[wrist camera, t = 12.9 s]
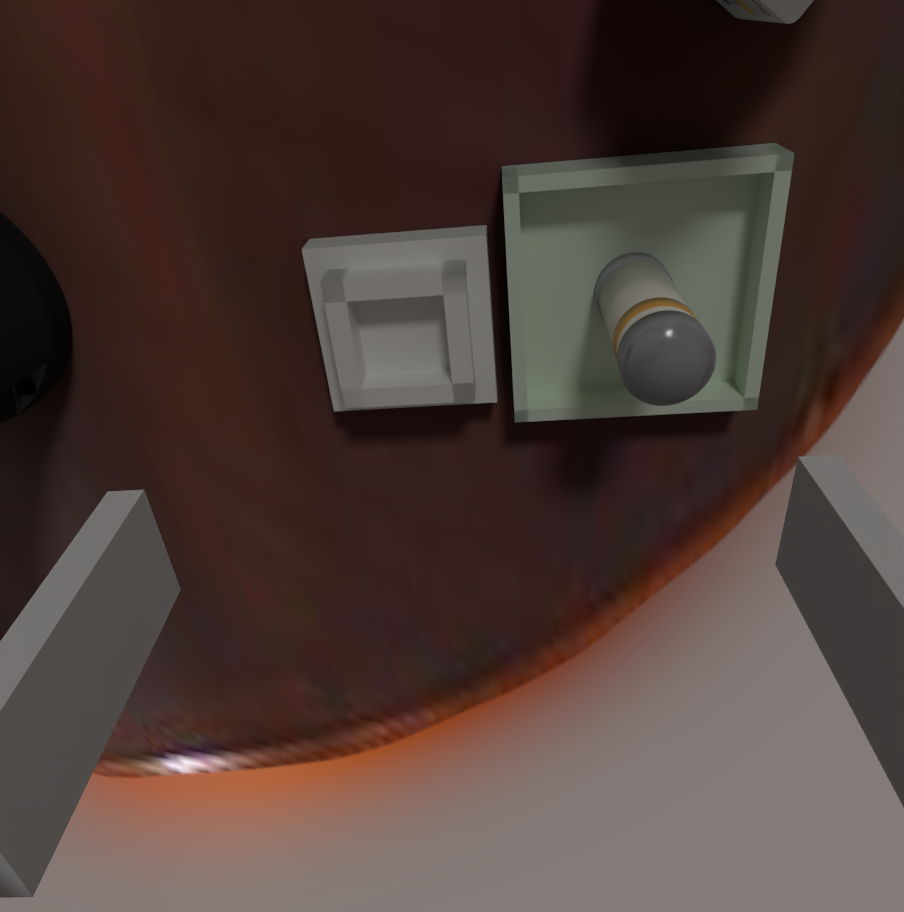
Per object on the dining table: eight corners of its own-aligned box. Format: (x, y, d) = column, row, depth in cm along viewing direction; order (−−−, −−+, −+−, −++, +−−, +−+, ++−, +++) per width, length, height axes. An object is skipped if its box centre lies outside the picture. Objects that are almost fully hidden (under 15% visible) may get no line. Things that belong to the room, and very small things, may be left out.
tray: (513, 400, 46) (514, 422, 44) (501, 166, 39) (502, 177, 36) (743, 387, 45) (756, 409, 43) (775, 143, 38) (794, 153, 35)
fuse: (594, 326, 43) (619, 408, 34) (594, 255, 40) (621, 323, 32) (667, 321, 42) (711, 403, 34) (672, 249, 40) (720, 317, 32)
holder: (339, 396, 47) (327, 427, 43) (309, 238, 41) (293, 260, 38) (497, 387, 46) (497, 418, 42) (486, 224, 41) (485, 246, 37)
